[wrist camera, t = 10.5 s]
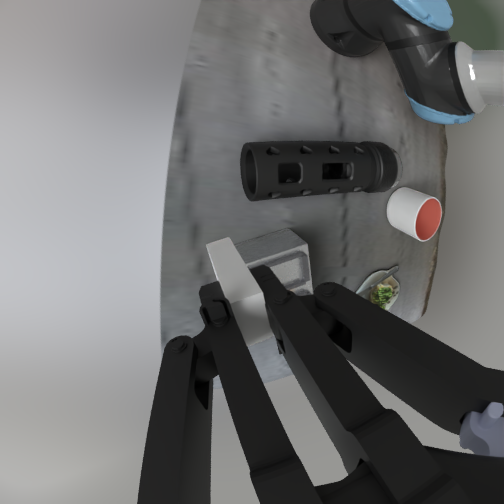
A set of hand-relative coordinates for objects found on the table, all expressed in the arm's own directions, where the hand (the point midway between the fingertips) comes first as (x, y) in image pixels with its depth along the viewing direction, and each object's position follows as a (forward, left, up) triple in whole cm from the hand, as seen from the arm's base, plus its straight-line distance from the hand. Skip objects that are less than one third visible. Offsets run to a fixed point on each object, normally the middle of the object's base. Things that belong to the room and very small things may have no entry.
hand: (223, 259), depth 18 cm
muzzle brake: (-23, +2, -31) cm, 38 cm away
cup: (-45, +16, -31) cm, 56 cm away
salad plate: (-36, +40, -31) cm, 62 cm away
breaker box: (-9, +21, -30) cm, 38 cm away
